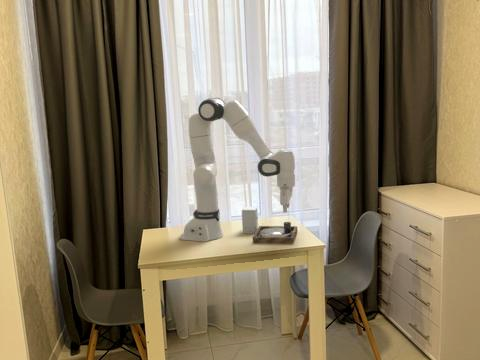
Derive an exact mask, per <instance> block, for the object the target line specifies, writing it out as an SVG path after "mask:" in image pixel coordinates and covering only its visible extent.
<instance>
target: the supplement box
mask: <svg viewBox="0 0 480 360" xmlns="http://www.w3.org/2000/svg"><path fill="white" fill-rule="evenodd" d="M258 218H259V217H258V207H257V206H245V207H243V208H242V210H241V220H242V221H241V224H242V234H255V233H256V231H257V229H258V228H259V224H258V223H259V222H258Z"/></svg>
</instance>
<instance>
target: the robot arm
mask: <svg viewBox="0 0 480 360" xmlns="http://www.w3.org/2000/svg"><path fill="white" fill-rule="evenodd" d="M197 109H198V111H197V112H198V113H195V114H192V115H191V116H189V119H188V135H189V143H190V150H191V154H192V158H193V159H192V160H193V163H194V167H195V169H194V170H193V172H192V173H193V175H192V176H193V185H194V191H195V197H196V199H195V200H196V209H195V210H194V211H193V214H192V216H193V218H192V219H190V220H189V221H188V222H187V223H186V224H185V225H184V227H183V228H184V229H183V232H182V233H181V234H180V235H179V239H180V240H182V241H196V242H202V243H203V242H204V243H205V242H208V241H213V240H217V239H220V238H222V237H223V236H224V233H223V229H222V227H221V221H220V220H221V214H220V213H221V212H220V209H219V197H218V190H217V179H216V178H217V174H218V167H217V161H216V156H215V152H214V146H213V138H212V132H211V124H212V122H214V121H215V122H216V121H218V120H225V122H226V123H227V125H228V126H229V128H230V129H231V131H232V133H233V134H234V135H235V137H236V138H238V139H239V140H242V141H244V142H246V143H248V144H249V145H250V146H251V147H252V149H253V151H254V152H255V153H256V155H257V156H258V157H259V162H258V164H257V170H258V173H259V174H260V175H261V176H263V177H272V176H276V187H278V188H279V190H280V192H279V204H280V206H282V211H283V212H282V213H287V212H288V209H289V208H290V203H291V202H290V201H291V199H292V197H293V188H294V187H296V174H295V169H296V163H295V162H296V161H295V155H294V153H293V152H292V151H290V150H287V149H278V150H277V151H276V152H272V151H271V150H270V149H269V148H268V146H267V145H266V143H265V142H264V140H263V139H262V137H261V136H260V134H259V132H258V130H257V128H256V126H255V123H254V121H253V120H252V117H251V115H249V113H248V112H247V109H245V108H244V107H243V105H242V104H241V103H240V102H239V101H237V100H230V101H228V102H227V103H226V102H225V100H223V99H222V98H220V97H210V98H207V99H204V100H203V101H201V102H200V104H199V105H198V108H197Z"/></svg>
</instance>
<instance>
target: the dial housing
mask: <svg viewBox="0 0 480 360" xmlns="http://www.w3.org/2000/svg"><path fill="white" fill-rule="evenodd" d="M274 227H280V228H284V225H279V226H278V225H258V229H257V231H256V233H253V236H252V244H279V245H280V244H281V245H294V243H295V241H296V238H297V235H298V226H295V225H293V226H292V225H291V231H292V235H291V237H260V231H261V230H263V229H267V228H274Z"/></svg>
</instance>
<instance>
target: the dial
mask: <svg viewBox="0 0 480 360" xmlns="http://www.w3.org/2000/svg"><path fill="white" fill-rule="evenodd" d="M283 226H284V228H280V227H274V228H267V229H263V230H261V231H260V237H291V235H292V231H291V226H292V223H291V221H285V222H283Z"/></svg>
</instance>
